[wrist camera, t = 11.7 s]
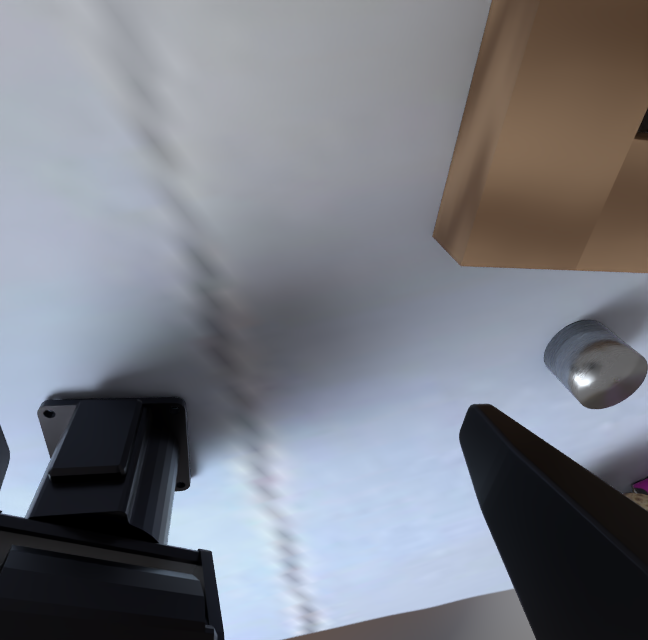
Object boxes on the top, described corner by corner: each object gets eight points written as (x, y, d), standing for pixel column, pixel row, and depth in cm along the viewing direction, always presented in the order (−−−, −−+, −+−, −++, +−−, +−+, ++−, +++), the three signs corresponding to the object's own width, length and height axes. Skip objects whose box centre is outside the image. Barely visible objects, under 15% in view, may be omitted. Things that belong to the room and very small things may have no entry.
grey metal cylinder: (588, 372, 26) (626, 408, 23) (534, 373, 25) (566, 410, 23) (617, 319, 24) (660, 352, 22) (558, 319, 23) (597, 352, 21)
